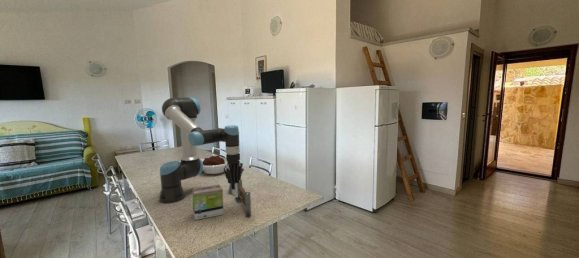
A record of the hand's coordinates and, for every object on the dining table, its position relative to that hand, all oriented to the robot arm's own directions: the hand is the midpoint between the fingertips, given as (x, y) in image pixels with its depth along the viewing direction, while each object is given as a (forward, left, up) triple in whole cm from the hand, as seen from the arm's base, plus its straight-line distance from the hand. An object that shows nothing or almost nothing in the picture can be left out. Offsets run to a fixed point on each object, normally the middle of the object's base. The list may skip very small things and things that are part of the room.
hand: (235, 194), depth 140 cm
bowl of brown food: (-4, +81, -10) cm, 81 cm away
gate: (+5, +3, -9) cm, 10 cm away
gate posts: (+5, +3, -10) cm, 12 cm away
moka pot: (+4, +29, -10) cm, 31 cm away
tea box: (-15, +3, -10) cm, 18 cm away
